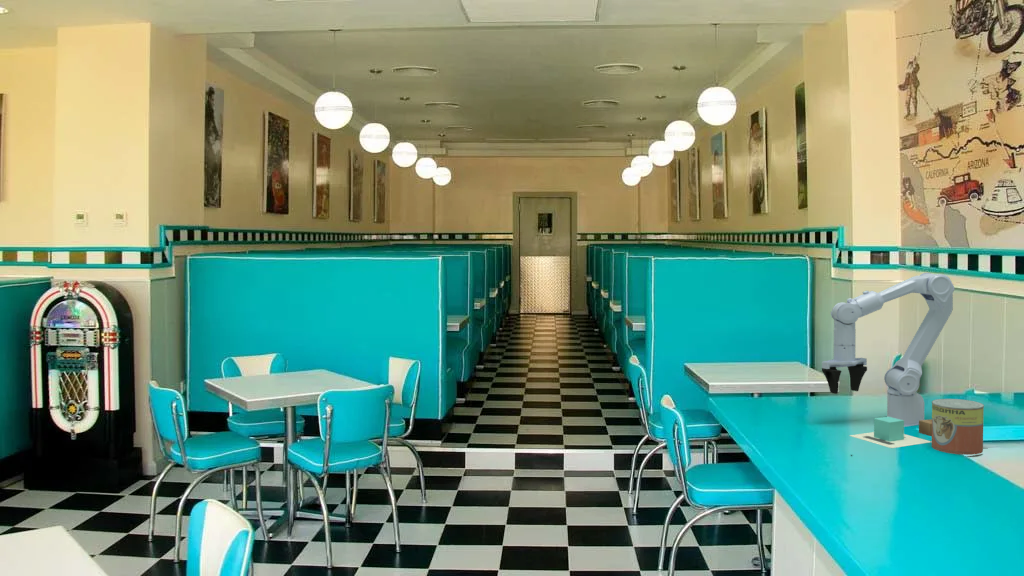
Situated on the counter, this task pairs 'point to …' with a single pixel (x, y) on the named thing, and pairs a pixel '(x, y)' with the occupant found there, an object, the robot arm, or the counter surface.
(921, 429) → the walnut block
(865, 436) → the board
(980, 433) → the canned food
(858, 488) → the counter surface
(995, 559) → the counter surface
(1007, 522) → the counter surface
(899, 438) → the turquoise cube
